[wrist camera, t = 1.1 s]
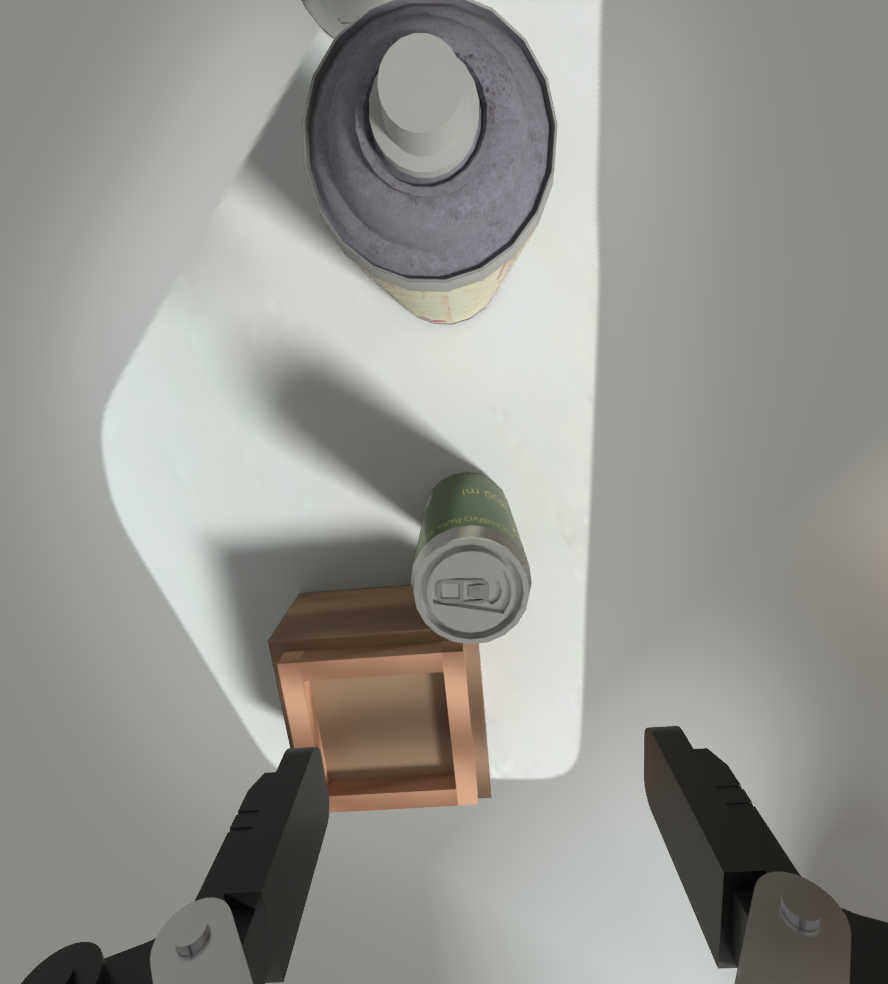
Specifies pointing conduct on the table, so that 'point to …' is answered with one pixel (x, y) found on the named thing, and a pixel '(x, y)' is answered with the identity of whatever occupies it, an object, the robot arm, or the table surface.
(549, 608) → the table surface
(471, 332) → the table surface
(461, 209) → the aerosol can
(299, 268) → the table surface
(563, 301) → the table surface
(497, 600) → the beer can
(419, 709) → the wooden crate
